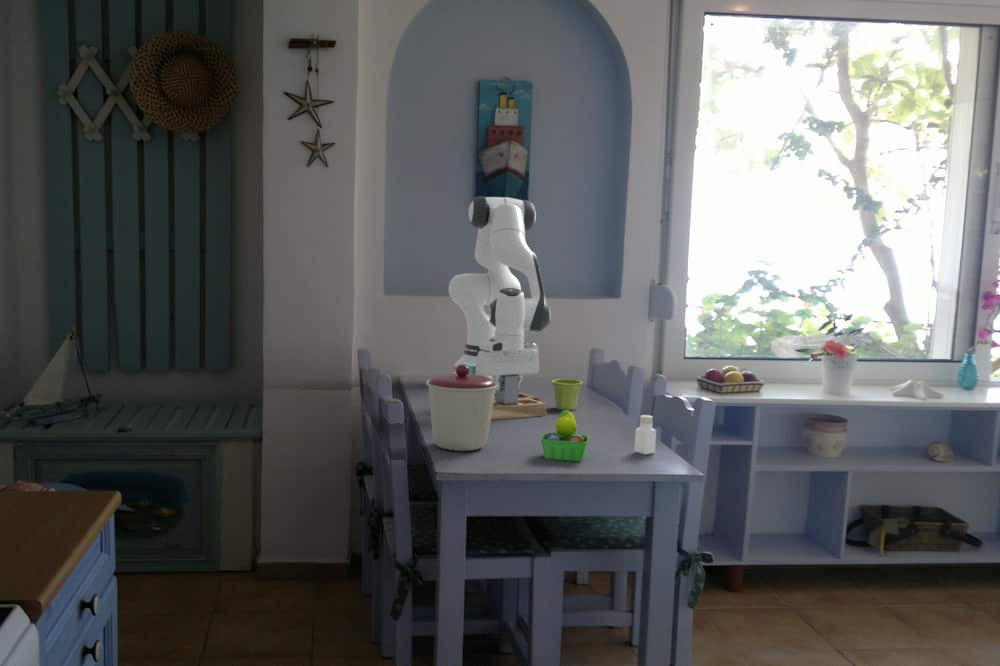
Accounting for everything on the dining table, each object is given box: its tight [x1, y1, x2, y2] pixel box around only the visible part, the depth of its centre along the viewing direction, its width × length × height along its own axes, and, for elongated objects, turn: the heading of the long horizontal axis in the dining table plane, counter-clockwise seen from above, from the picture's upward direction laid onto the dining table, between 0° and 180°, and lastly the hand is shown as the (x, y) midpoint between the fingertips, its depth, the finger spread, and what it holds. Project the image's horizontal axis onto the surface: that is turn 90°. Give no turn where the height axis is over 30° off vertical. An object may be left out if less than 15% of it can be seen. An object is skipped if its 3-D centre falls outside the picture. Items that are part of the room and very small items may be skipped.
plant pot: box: [551, 378, 583, 411], centre depth 305 cm, size 9×9×9 cm
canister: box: [425, 365, 498, 452], centre depth 247 cm, size 18×18×21 cm
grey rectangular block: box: [496, 375, 519, 405], centre depth 292 cm, size 5×5×10 cm
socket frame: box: [494, 391, 540, 402], centre depth 304 cm, size 27×10×3 cm, turn 121°
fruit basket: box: [540, 409, 590, 462], centre depth 241 cm, size 11×9×11 cm
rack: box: [491, 398, 548, 421], centre depth 292 cm, size 10×22×4 cm, turn 121°
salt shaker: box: [634, 414, 657, 455], centre depth 249 cm, size 4×4×10 cm
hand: (507, 389), depth 292 cm, fingers closed on grey rectangular block, 4 cm apart
